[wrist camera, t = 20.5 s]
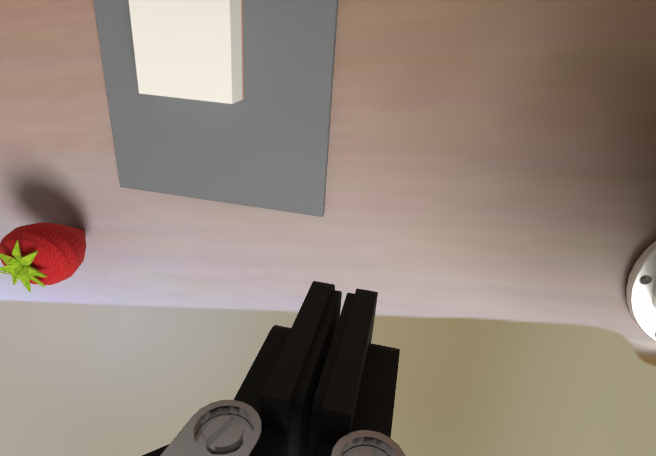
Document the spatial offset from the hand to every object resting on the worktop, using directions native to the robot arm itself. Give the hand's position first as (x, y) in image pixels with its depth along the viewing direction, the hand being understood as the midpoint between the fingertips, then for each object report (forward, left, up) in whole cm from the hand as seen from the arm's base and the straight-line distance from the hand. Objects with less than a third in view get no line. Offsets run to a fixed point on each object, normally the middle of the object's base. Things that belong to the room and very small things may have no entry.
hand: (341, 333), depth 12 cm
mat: (+16, -4, -27) cm, 32 cm away
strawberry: (+32, +15, -27) cm, 45 cm away
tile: (+13, -4, -25) cm, 29 cm away
